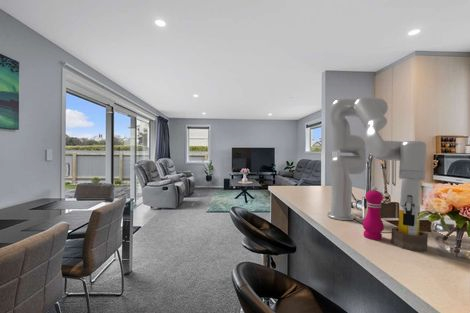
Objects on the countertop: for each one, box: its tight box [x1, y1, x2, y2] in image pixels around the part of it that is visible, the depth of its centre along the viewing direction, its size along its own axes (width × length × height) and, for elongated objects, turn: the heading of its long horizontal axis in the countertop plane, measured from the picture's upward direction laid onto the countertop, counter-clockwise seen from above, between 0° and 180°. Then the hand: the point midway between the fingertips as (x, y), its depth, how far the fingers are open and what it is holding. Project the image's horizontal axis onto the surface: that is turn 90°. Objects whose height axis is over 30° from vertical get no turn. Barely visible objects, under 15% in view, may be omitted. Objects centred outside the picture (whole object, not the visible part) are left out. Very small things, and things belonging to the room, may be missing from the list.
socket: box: [390, 226, 429, 252], centre depth 87 cm, size 10×10×5 cm
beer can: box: [397, 202, 421, 236], centre depth 87 cm, size 6×6×15 cm
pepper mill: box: [362, 186, 384, 241], centre depth 94 cm, size 7×7×20 cm
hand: (409, 222), depth 87 cm, fingers open, 9 cm apart
